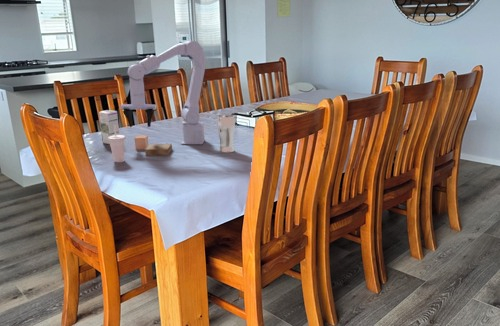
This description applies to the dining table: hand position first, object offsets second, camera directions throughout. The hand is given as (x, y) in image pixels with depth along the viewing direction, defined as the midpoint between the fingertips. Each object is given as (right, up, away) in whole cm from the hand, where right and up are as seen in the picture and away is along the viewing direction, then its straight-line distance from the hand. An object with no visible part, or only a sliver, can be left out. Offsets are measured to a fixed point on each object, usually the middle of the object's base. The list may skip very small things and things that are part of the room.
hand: (140, 126), depth 183 cm
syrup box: (-16, -7, +11) cm, 20 cm away
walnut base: (+9, -11, -4) cm, 15 cm away
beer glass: (+37, -11, -3) cm, 39 cm away
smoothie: (-4, -15, -15) cm, 22 cm away
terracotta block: (0, -9, +3) cm, 10 cm away
